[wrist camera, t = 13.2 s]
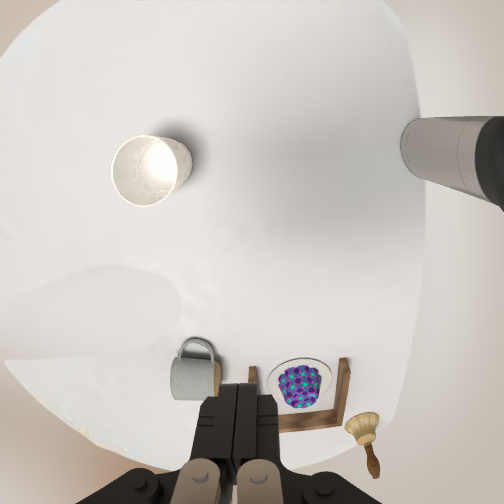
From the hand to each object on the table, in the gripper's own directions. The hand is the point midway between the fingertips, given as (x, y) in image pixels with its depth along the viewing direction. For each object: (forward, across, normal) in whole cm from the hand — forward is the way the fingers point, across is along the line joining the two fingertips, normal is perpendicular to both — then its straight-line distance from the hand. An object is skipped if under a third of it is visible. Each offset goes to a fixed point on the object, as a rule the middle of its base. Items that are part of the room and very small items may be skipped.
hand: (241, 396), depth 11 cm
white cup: (+32, +11, -8) cm, 35 cm away
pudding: (+33, -5, +32) cm, 46 cm away
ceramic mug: (+32, +13, +26) cm, 43 cm away
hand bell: (+32, -20, +50) cm, 63 cm away
